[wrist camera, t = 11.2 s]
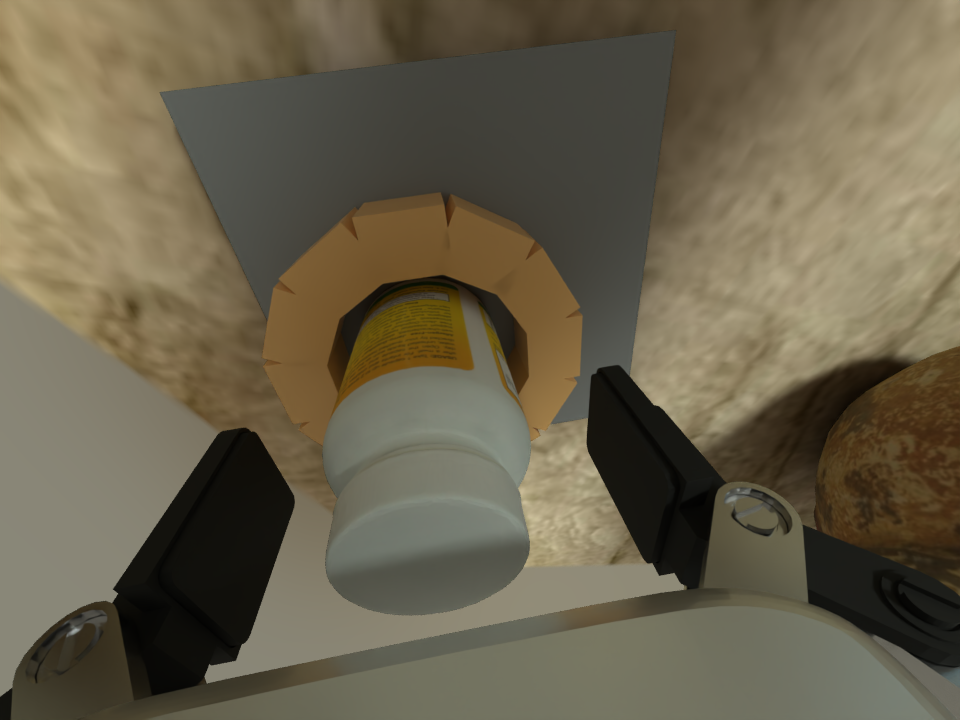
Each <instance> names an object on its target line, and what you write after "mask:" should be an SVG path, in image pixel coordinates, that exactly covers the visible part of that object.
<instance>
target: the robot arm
mask: <svg viewBox="0 0 960 720" xmlns="http://www.w3.org/2000/svg"><path fill="white" fill-rule="evenodd" d="M587 448H588V452H589V454H590V456H591V458H592V460H593V462H594V464H595V466H596V468H597V470H598V472H599V474H600V476H601V478H602V480H603V481H604V483H605V485H606V487H607V489H608V491H609V493H610V495H611V497H612V499H613V501H614V503H615V505H616V507H617V509H618V511H619V513H620V514H621V516H622V518H623V520H624V522H625V524H626V526H627V528H628V530H629V532H630V534H631V536H632V538H633V540H634V542H635V544H636V546H637V547H638V549H639V551H640V553H641V555H642V557H643V559H644V560H645V561H646V562H647V563H653V565H654V567H655V569H656V571H657V572H658V574H659V576H660V575H666V574H671V573H675V575H676V576H677V578H678V580H679V582H680V583H681V584H683V585H684V590H681V591H673V592H665V593H658V594H652V595H647V596H641V597H635V598H630V599H624V600H618V601H613V602H608V603H602V604H596V605H590V606H586V607H580V608H575V609H570V610H565V611H560V612H555V613H550V614H545V615H540V616H535V617H530V618H524V619H519V620H514V621H509V622H504V623H499V624H495V625H489V626H484V627H479V628H474V629H469V630H464V631H459V632H455V633H449V634H444V635H440V636H435V637H429V638H424V639H420V640H414V641H410V642H405V643H400V644H395V645H390V646H385V647H381V648H376V649H370V650H365V651H360V652H356V653H350V654H346V655H341V656H337V657H331V658H326V659H321V660H317V661H312V662H307V663H302V664H297V665H293V666H288V667H283V668H278V669H274V670H269V671H264V672H259V673H254V674H249V675H245V676H240V677H235V678H230V679H226V680H221V681H216V682H212V683H208V684H207V683H206V680H205V677H204V676H205V673H206V671H207V669H208V666H209V664H210V665H217V664H221V663H227V662H232V661H236V659H237V656H238V653H239V650H240V647H241V645H242V644H244V643H245V642H246V641H247V640H248V638H249V636H250V634H251V631H252V628H253V625H254V622H255V619H256V616H257V614H258V610H259V608H260V605H261V602H262V599H263V596H264V593H265V590H266V587H267V584H268V582H269V578H270V576H271V573H272V570H273V567H274V564H275V561H276V558H277V555H278V552H279V549H280V546H281V544H282V541H283V538H284V535H285V532H286V529H287V526H288V523H289V520H290V518H291V515H292V512H293V508H294V504H295V500H294V495H293V493H292V492H291V490H290V488H289V486H288V485H287V483H286V481H285V480H284V478H283V476H282V475H281V473H280V471H279V470H278V468H277V466H276V465H275V463H274V461H273V459H272V458H271V456H270V454H269V453H268V451H267V449H266V448H265V446H264V444H263V443H262V441H261V439H260V438H259V436H258V435H257V433H255V432H251V431H250V430H249V429H247V428H239V429H233V430H227V431H222V432H220V433H219V434H218V435H217V436H216V438H215V439H214V441H213V443H212V444H211V445H210V447H209V448H208V450H207V451H206V453H205V454H204V456H203V457H202V459H201V460H200V462H199V463H198V465H197V466H196V467H195V469H194V471H193V472H192V473H191V475H190V476H189V478H188V479H187V481H186V482H185V484H184V485H183V487H182V488H181V490H180V491H179V493H178V494H177V496H176V497H175V499H174V500H173V501H172V503H171V504H170V506H169V507H168V509H167V510H166V512H165V513H164V515H163V516H162V518H161V519H160V521H159V522H158V524H157V525H156V527H155V528H154V529H153V531H152V532H151V534H150V535H149V537H148V538H147V540H146V541H145V543H144V544H143V546H142V547H141V549H140V550H139V552H138V553H137V555H136V556H135V558H134V559H133V560H132V562H131V563H130V565H129V566H128V568H127V569H126V571H125V572H124V574H123V575H122V577H121V578H120V580H119V581H118V583H117V584H116V586H115V587H114V589H113V590H115V591H116V592H117V593H118V595H117V597H116V598H115V600H114V601H113V603H110V602H107V601H101V602H94V603H91V604H88V605H86V606H83V607H81V608H79V609H77V610H75V611H74V612H72V613H70V614H68V615H67V616H65V617H64V618H62V619H61V620H60V621H58V622H57V623H56V624H54V625H53V626H52V627H51V628H50V629H49V630H47V631H46V632H45V633H44V634H43V635H42V636H41V637H40V638H39V639H38V640H37V641H36V642H35V643H34V644H33V646H32V647H31V648H30V649H29V650H28V652H27V653H26V654H25V655H24V657H23V659H22V661H21V662H20V664H19V666H18V667H17V669H16V672H15V676H14V680H13V687H12V688H11V689H10V690H9V691H8V692H6V693H5V694H3V695H2V696H1V697H0V720H960V596H959V595H958V594H957V593H956V592H955V591H953V590H952V589H950V588H949V587H947V586H946V585H944V584H943V583H941V582H940V581H938V580H937V579H935V578H933V577H931V576H928V575H926V574H924V573H922V572H920V571H918V570H915V569H913V568H910V567H908V566H905V565H903V564H900V563H898V562H895V561H893V560H890V559H888V558H885V557H883V556H880V555H878V554H875V553H873V552H870V551H868V550H865V549H862V548H860V547H857V546H855V545H852V544H850V543H847V542H845V541H842V540H840V539H837V538H835V537H832V536H830V535H827V534H825V533H822V532H820V531H817V530H815V529H812V528H809V527H807V526H804V525H802V522H801V519H800V516H799V515H798V513H797V512H796V510H795V509H794V507H793V506H792V505H791V504H790V503H788V502H787V501H786V500H785V499H784V498H783V497H781V496H780V495H778V494H777V493H775V492H773V491H772V490H770V489H768V488H765V487H763V486H760V485H758V484H753V483H749V482H731V483H726V482H725V481H724V480H723V479H722V478H721V476H720V475H719V474H718V473H717V472H716V471H715V469H714V468H713V467H712V466H711V465H710V464H709V463H708V461H707V460H706V459H705V458H704V457H703V456H702V454H701V453H700V452H699V451H698V450H697V449H696V447H695V446H694V445H693V444H692V443H691V442H690V440H689V439H688V438H687V437H686V436H685V435H684V434H683V432H682V431H681V430H680V429H679V428H678V427H677V425H676V424H675V423H674V422H673V421H672V420H671V418H670V417H669V416H668V415H667V414H666V413H665V411H664V410H663V409H661V408H660V407H659V406H656V405H655V406H654V405H653V404H652V403H651V401H650V400H649V399H648V398H647V397H646V395H645V394H644V393H643V392H642V391H641V389H640V388H639V387H638V386H637V385H636V384H635V382H634V381H633V380H632V379H631V378H630V376H629V375H628V374H627V373H626V372H625V370H624V369H623V368H622V367H621V366H620V365H613V366H607V367H601V368H598V369H597V372H596V374H592V375H591V382H590V397H589V412H588V427H587Z"/></svg>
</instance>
